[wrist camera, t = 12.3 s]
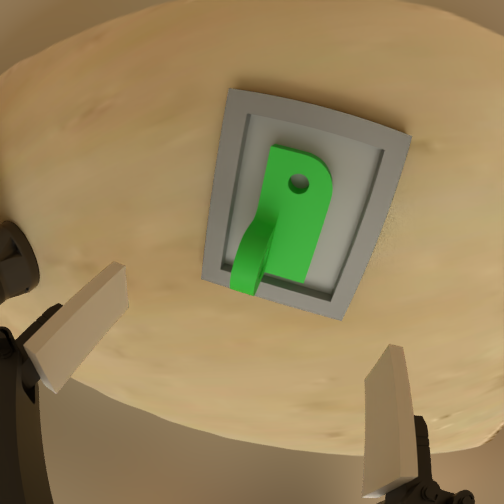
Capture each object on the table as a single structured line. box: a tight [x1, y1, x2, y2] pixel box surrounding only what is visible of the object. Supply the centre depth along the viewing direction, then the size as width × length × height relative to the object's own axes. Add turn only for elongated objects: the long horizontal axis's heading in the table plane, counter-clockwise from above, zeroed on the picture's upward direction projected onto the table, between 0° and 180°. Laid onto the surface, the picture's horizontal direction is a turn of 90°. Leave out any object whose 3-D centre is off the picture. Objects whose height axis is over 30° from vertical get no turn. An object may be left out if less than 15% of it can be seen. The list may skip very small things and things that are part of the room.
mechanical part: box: [230, 144, 333, 296], centre depth 24 cm, size 12×6×8 cm, turn 169°
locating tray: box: [201, 88, 412, 321], centre depth 27 cm, size 16×20×2 cm
